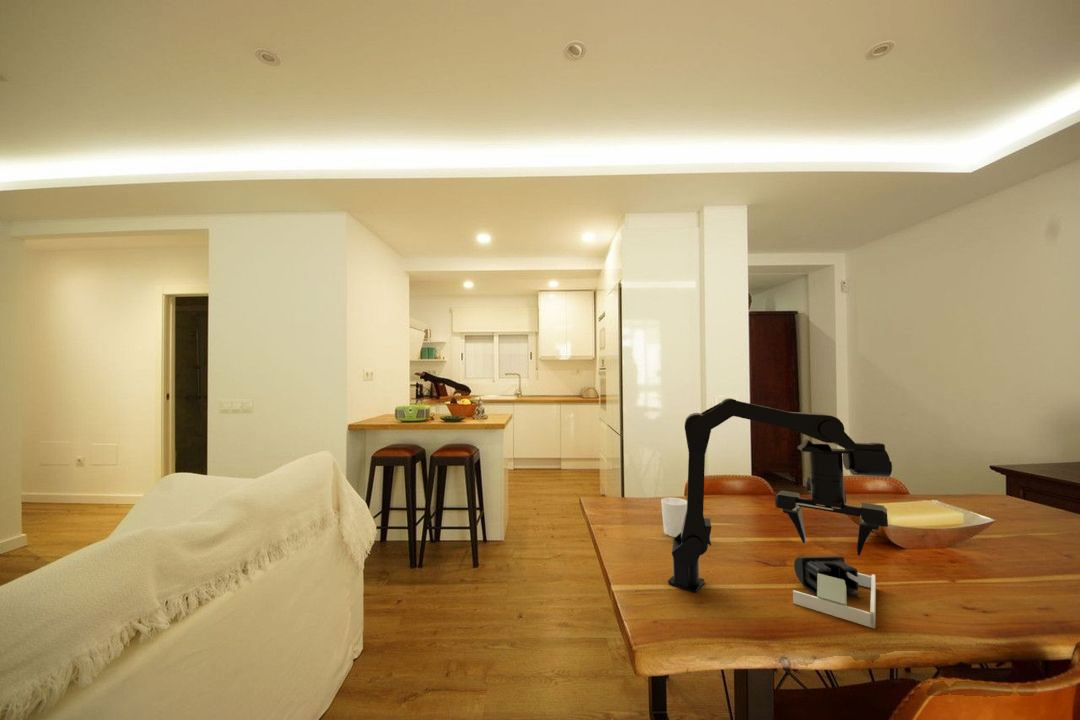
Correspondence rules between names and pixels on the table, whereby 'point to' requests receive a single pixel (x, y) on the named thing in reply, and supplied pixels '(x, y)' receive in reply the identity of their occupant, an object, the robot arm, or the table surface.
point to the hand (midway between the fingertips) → (830, 548)
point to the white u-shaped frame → (841, 609)
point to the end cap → (825, 572)
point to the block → (831, 589)
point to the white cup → (673, 515)
